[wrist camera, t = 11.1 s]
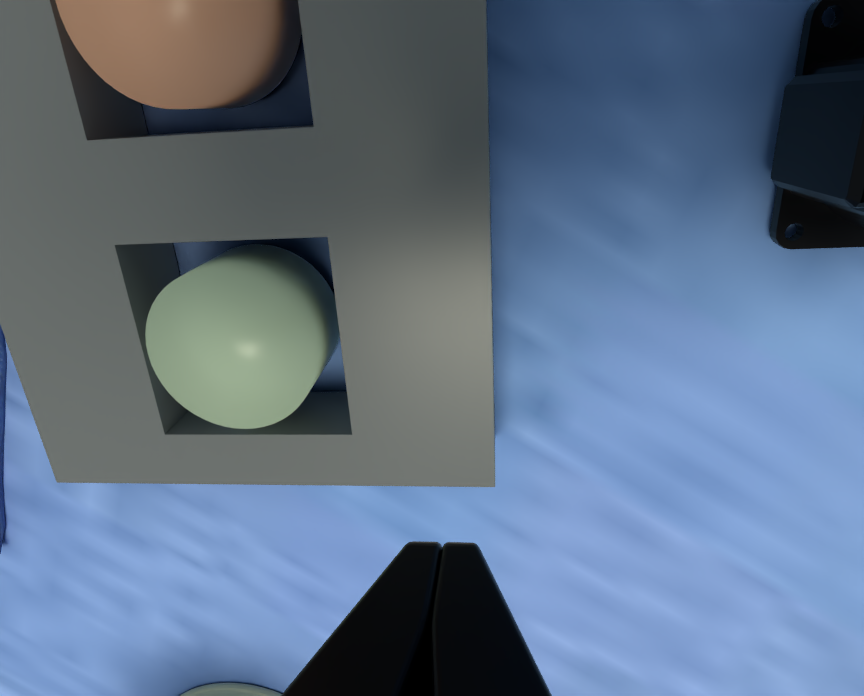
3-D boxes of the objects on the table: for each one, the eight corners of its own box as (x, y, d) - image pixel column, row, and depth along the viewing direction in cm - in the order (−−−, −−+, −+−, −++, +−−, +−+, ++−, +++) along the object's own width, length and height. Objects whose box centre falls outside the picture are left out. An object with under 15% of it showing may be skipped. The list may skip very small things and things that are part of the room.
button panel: (469, -897, 11) (461, -1246, 8) (494, 437, 21) (495, 487, 19) (-245, -717, 12) (-458, -954, 10) (109, 436, 23) (57, 482, 20)
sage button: (330, 241, 18) (301, 265, 16) (348, 384, 20) (325, 429, 18) (179, 246, 19) (126, 271, 16) (210, 386, 21) (167, 429, 18)
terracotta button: (287, -110, 15) (240, -157, 12) (313, 103, 17) (278, 102, 14) (104, -90, 16) (20, -132, 13) (150, 113, 17) (85, 115, 15)
